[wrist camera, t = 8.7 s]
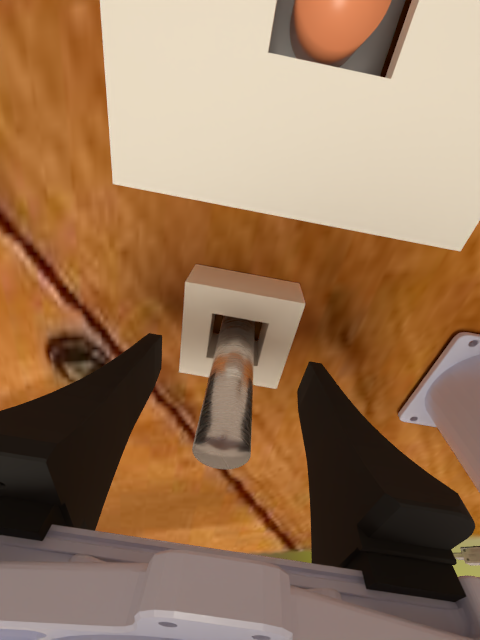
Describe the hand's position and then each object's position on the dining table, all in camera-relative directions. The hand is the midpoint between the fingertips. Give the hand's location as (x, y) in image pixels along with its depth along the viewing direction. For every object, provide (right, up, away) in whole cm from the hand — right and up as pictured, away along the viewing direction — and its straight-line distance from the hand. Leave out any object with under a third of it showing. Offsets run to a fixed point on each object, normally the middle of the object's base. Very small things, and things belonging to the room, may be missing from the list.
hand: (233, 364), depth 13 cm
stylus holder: (0, +2, +4) cm, 4 cm away
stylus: (0, +2, +4) cm, 4 cm away
